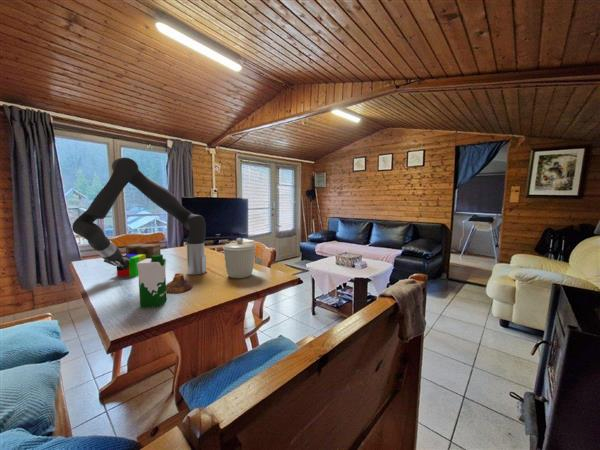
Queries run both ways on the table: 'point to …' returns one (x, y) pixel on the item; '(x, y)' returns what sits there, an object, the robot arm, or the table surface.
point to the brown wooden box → (143, 249)
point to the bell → (178, 284)
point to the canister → (239, 258)
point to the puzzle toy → (131, 265)
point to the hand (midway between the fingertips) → (125, 268)
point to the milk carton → (152, 281)
